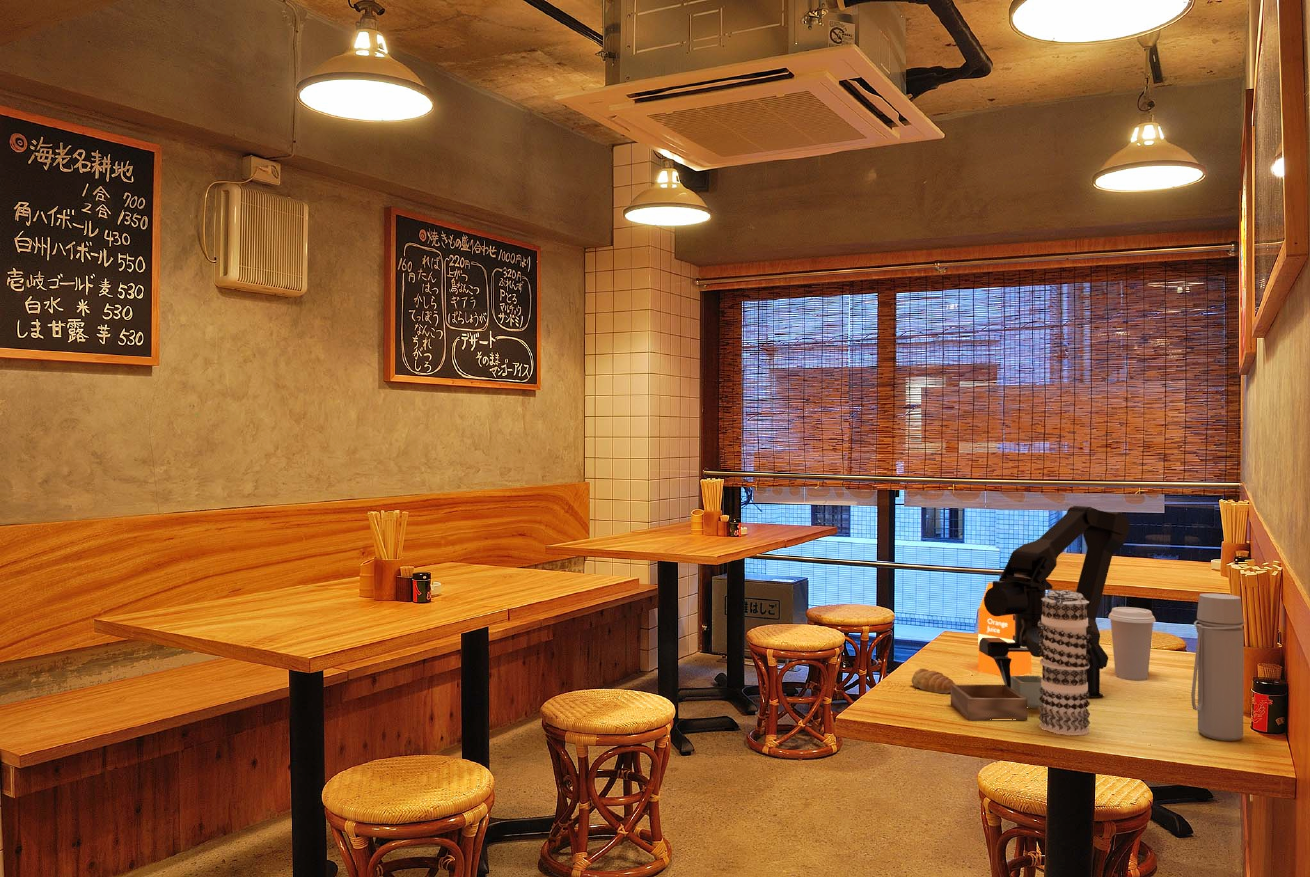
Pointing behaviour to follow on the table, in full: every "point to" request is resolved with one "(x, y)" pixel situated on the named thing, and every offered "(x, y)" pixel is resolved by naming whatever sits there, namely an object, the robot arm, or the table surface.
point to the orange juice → (1005, 631)
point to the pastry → (932, 681)
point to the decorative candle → (1064, 663)
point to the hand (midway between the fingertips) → (1029, 690)
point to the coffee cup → (1131, 641)
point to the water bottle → (1219, 667)
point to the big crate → (988, 702)
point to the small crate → (1028, 689)
